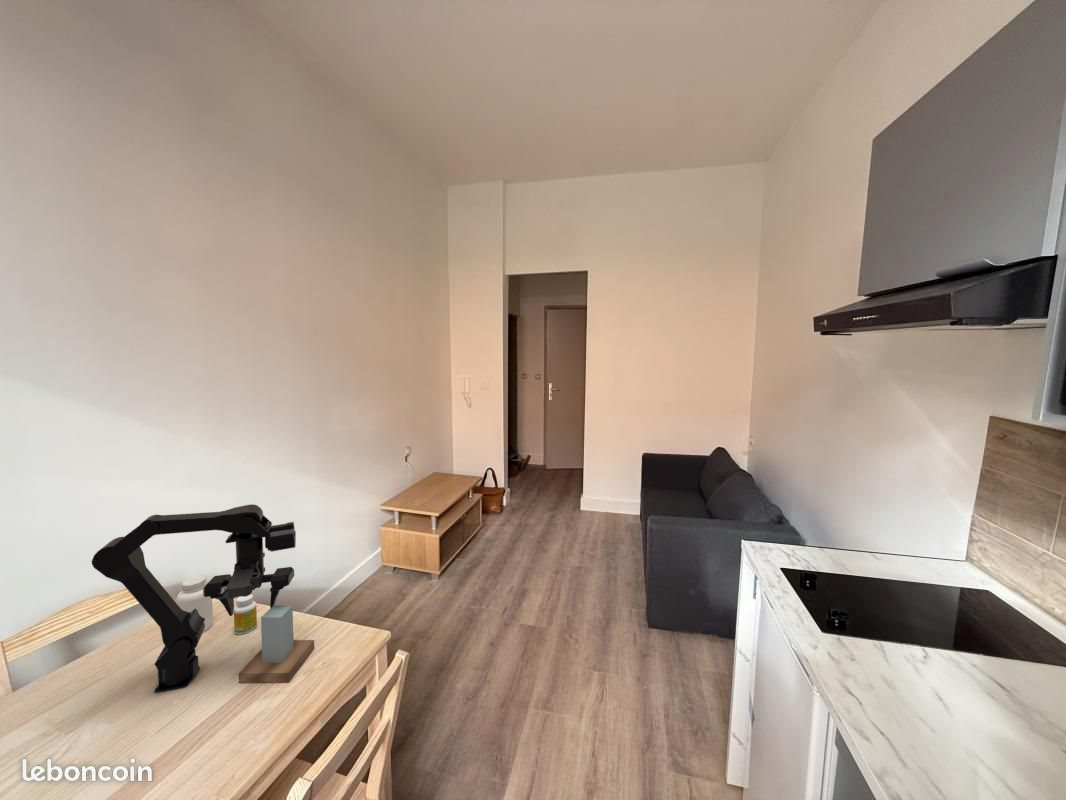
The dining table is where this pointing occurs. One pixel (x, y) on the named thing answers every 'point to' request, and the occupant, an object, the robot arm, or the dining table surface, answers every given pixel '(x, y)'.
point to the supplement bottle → (245, 615)
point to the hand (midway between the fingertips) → (252, 612)
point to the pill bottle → (196, 599)
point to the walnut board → (277, 665)
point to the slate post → (277, 634)
